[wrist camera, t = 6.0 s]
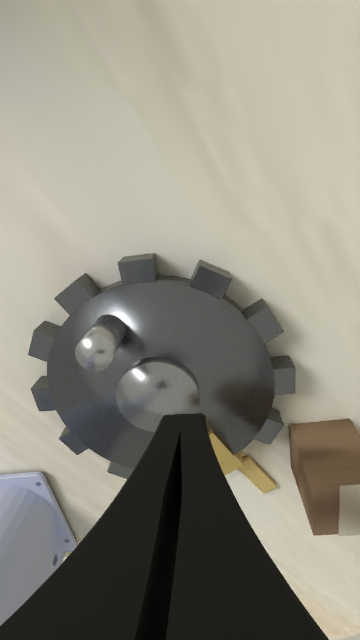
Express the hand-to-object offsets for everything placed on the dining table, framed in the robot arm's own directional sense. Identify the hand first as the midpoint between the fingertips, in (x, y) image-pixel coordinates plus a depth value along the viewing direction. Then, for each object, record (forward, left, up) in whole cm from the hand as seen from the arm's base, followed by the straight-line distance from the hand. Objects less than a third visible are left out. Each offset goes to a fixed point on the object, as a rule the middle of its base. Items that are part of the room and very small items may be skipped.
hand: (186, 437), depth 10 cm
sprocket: (-4, +3, -9) cm, 10 cm away
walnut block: (-11, -7, -10) cm, 16 cm away
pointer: (-13, -3, -9) cm, 16 cm away
